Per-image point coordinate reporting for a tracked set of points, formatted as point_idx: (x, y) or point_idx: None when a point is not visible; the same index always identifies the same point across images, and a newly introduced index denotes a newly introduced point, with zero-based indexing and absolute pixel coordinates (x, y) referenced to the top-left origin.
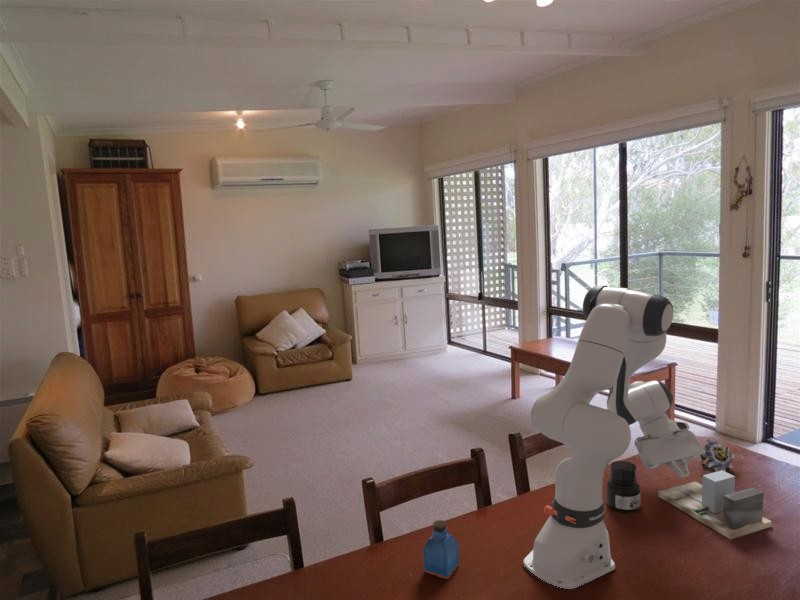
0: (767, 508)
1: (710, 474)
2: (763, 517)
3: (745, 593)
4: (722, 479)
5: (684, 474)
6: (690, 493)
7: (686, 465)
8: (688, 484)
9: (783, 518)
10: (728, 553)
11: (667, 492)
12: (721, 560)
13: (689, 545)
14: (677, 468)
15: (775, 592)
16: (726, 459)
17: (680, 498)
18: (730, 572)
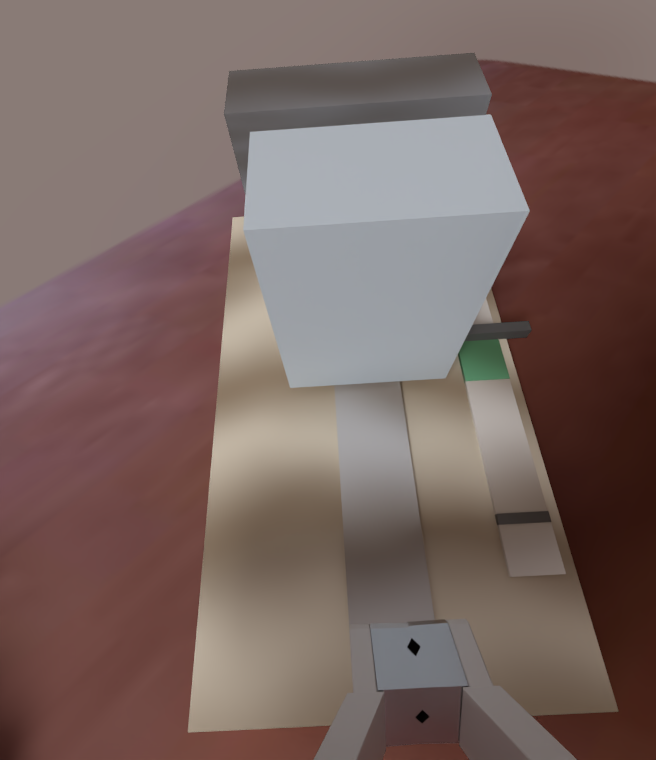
0: (106, 330)
1: (433, 202)
2: (233, 242)
3: (593, 73)
4: (397, 124)
5: (435, 623)
6: (391, 548)
7: (344, 734)
8: (286, 704)
9: (136, 261)
10: (523, 176)
11: (544, 654)
12: (572, 160)
13: (646, 236)
14: (526, 714)
15: (511, 64)
16: None
17: (505, 518)
18: (580, 123)
